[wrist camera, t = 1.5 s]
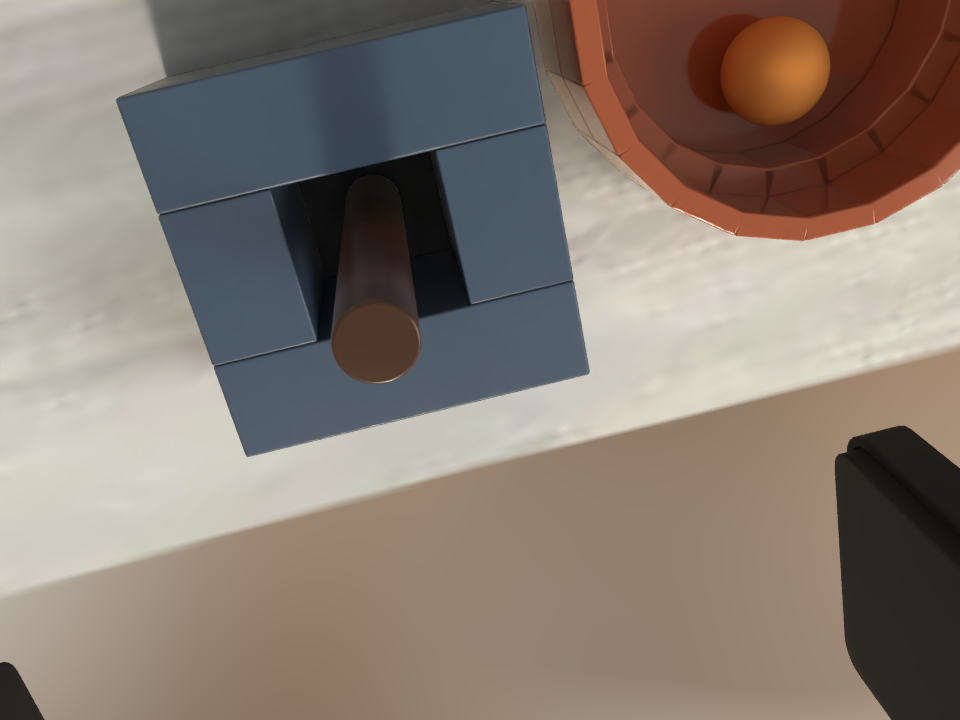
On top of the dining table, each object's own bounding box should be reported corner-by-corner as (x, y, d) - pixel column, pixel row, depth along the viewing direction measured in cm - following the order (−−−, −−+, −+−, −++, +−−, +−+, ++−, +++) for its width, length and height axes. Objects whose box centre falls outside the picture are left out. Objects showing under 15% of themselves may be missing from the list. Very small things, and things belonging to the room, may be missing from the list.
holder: (165, 77, 27) (113, 98, 22) (493, 1, 27) (525, 3, 22) (267, 376, 31) (246, 458, 26) (551, 308, 32) (590, 374, 26)
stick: (339, 180, 29) (319, 313, 17) (393, 168, 29) (410, 291, 17) (354, 233, 30) (344, 395, 18) (406, 220, 30) (430, 373, 18)
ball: (700, 27, 28) (739, 31, 25) (798, 4, 28) (848, 5, 25) (710, 128, 29) (749, 143, 26) (804, 106, 29) (852, 119, 26)
